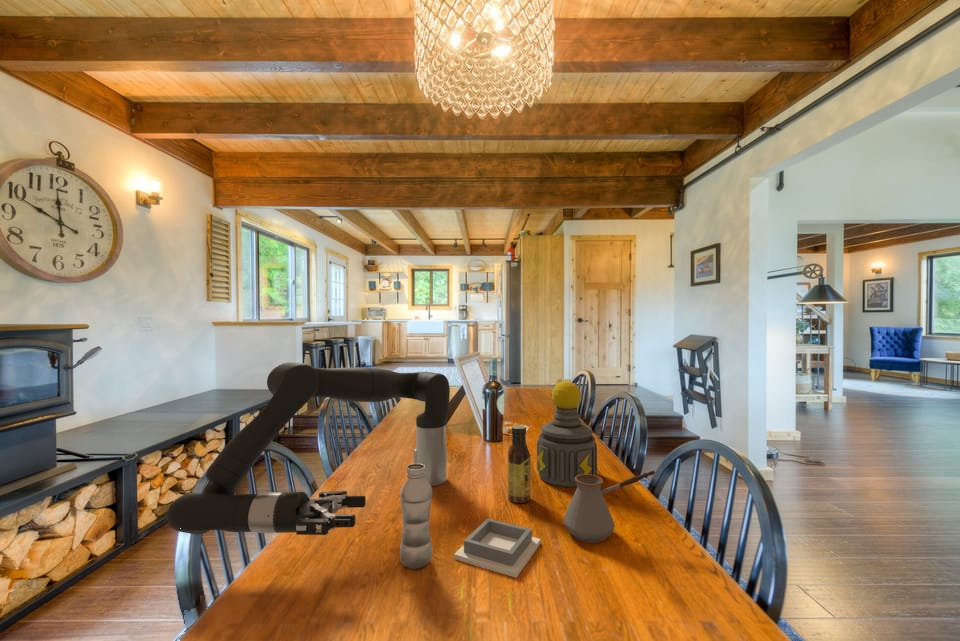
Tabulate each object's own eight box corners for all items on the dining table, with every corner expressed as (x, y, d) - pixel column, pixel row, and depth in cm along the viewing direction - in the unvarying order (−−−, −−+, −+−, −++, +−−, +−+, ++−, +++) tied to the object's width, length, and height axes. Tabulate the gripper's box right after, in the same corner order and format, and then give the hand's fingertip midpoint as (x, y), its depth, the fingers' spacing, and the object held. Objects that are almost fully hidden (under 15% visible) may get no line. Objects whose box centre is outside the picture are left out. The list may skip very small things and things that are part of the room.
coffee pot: (567, 547, 93) (567, 478, 93) (560, 521, 105) (560, 460, 105) (667, 549, 92) (667, 480, 92) (649, 523, 104) (649, 462, 103)
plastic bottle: (401, 555, 90) (400, 461, 90) (433, 554, 91) (432, 460, 90) (397, 574, 84) (397, 473, 83) (432, 572, 84) (431, 471, 84)
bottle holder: (454, 559, 89) (454, 542, 89) (484, 528, 101) (484, 514, 101) (516, 577, 82) (516, 559, 82) (540, 543, 95) (540, 527, 95)
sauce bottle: (529, 505, 114) (529, 431, 114) (506, 503, 115) (505, 429, 115) (531, 495, 120) (531, 424, 120) (509, 493, 121) (509, 423, 121)
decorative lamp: (572, 462, 146) (572, 375, 146) (611, 482, 129) (610, 383, 129) (525, 471, 138) (524, 379, 138) (559, 493, 121) (559, 388, 121)
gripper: (262, 509, 79) (351, 507, 79) (293, 480, 93) (368, 478, 94) (262, 549, 79) (351, 547, 80) (293, 514, 93) (368, 512, 94)
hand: (360, 510), depth 87 cm, fingers open, 8 cm apart
